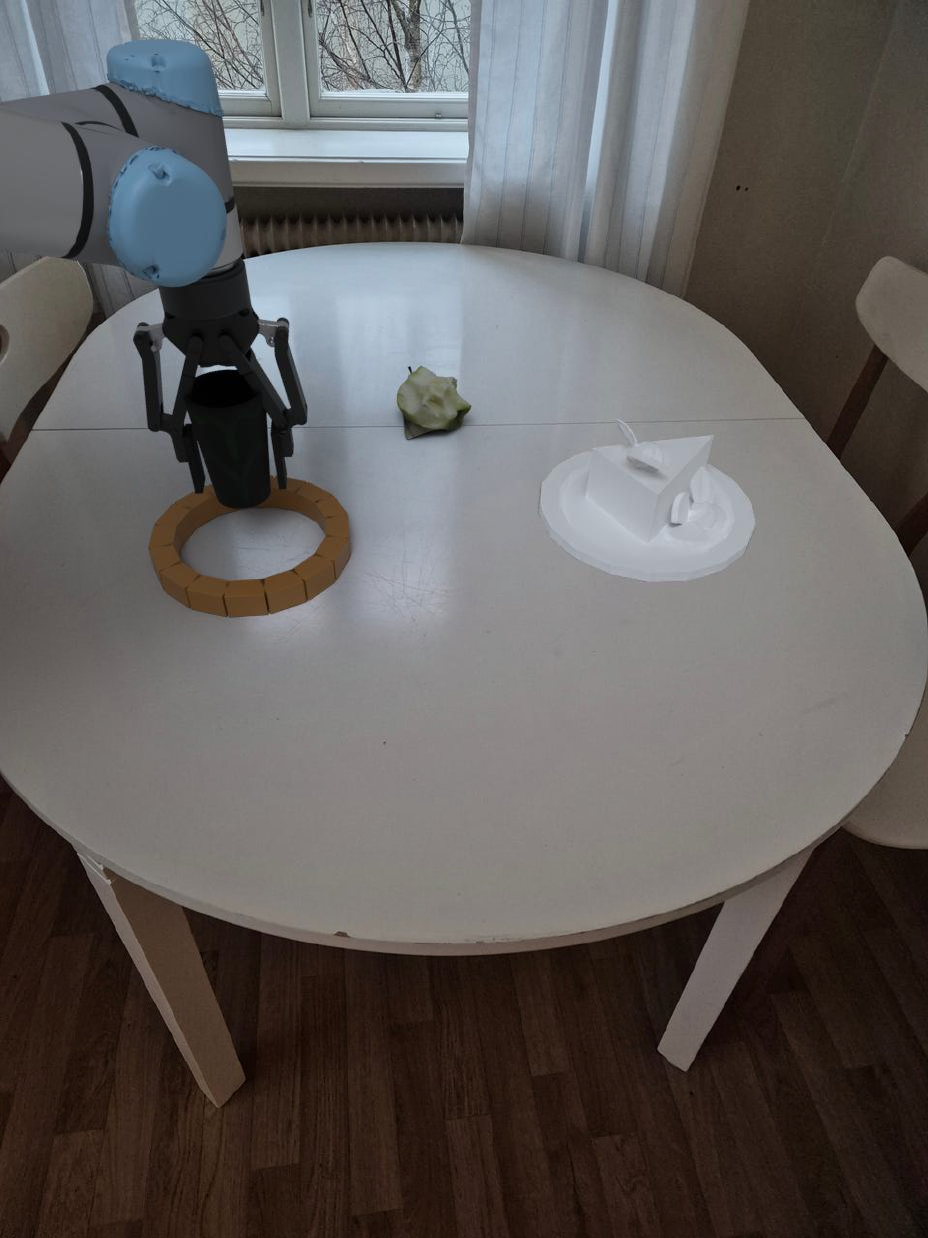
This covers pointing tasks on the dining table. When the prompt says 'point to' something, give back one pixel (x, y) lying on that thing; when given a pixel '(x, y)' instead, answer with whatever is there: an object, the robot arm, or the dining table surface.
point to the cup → (231, 437)
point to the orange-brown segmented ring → (250, 593)
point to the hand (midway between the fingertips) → (242, 483)
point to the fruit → (430, 403)
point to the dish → (647, 509)
